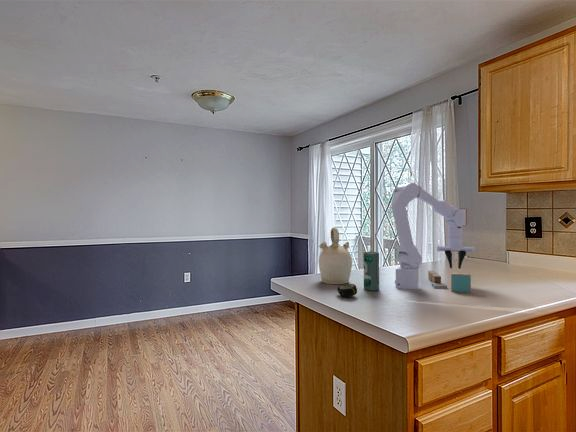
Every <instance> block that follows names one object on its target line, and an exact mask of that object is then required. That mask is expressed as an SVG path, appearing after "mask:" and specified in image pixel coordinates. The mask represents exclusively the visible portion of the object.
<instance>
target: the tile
mask: <svg viewBox="0 0 576 432" xmlns="http://www.w3.org/2000/svg"><path fill="white" fill-rule="evenodd" d="M449 277H450V278H449V280H450V281H449V286H450V287H449V288H450V289H449V290H450V292H457V293H471V292H472V290H471V289H472V284H471V283H472V279H471V278H472V276H471V273H467V272H466V273H465V272H464V273H462V272H449Z"/></svg>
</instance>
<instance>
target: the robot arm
mask: <svg viewBox="0 0 576 432" xmlns="http://www.w3.org/2000/svg"><path fill="white" fill-rule="evenodd" d="M392 194H393V196H392V200H391V210H392V215H393V220H394V224H395V228H396V233H397V238H398V244H399V247H398V248H397V256H396V257H397V262H398V263H399V266H396V267H395V280H394V285H395V289H406V290H408V289H409V290H420V285H419V284H420V283H419V268H420V265H421V264H422V262H423V257H422V255H421V254H420V252H419V249H418V248H417V246H416V245H415V243H414V241H413V236H412V231H411V226H410V222H409V217H408V212H407V208H406V207H407V206H408V205H409V204H410V202H411V201H413V200H415V199H419V200H421V201H423V202H424V203H426V204H427V205H429V206H431V207H432V209H433V211H434V212H436V213H437V214H438V215H440V216H442V217H443V218H444V220H445V221H446V222H447V246H443V245H442V246H436V251H437V252H444V255H445V256H446V259H447V262H448V265H449V268H450V269H453V262H452V261H453V252H457V254H458V255H457V257H458V263H457V265H458V266H457V268H458V269H459V270H461V268H462V264H463V261H464V259H465V257H466V255H467V253H468V252H469V253H475V247H474V246H463V226H464V222H465V220H466V219H467V218H466V217H467V216H466V214H465V212H464V211H463V210H461V209H459V208H458V209H457V208H456V206H454V205H451V204H450V203H448V201H447V200H446V199H437V198H436V197H434V196H433V195H431V193H429V192H427V191H426V190H425V189H424V188H423V187H422V186H420V185H418V184H417V183H415V182H409V183H404V184H403V183H402V184H398V185H397V186H396V187H395V188H394V190H393V191H392Z"/></svg>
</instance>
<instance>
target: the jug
mask: <svg viewBox="0 0 576 432" xmlns="http://www.w3.org/2000/svg"><path fill="white" fill-rule="evenodd" d="M330 241H331V245H329V246H328V245H327V241H323V242H321V243H320V245H319V246H318V247H319V248H320V249H321V252H320V254H319V256H318V268H319V272H320V277H321V282H322V283H324V284H327V285H346V284H349V282H350V277H351V273H352V268H353V257H352V254H351V253H350V251H349V248H350V242H349V241H346V242H345V243H343V245H341V244H339V243H340V233H339V229H338V228H337V227H335V226H334V227H332V228H331V229H330Z"/></svg>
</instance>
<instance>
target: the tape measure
mask: <svg viewBox="0 0 576 432" xmlns="http://www.w3.org/2000/svg"><path fill="white" fill-rule="evenodd" d="M337 292H338V294H339V295H340V297H343V298H350V297H353V296H355V295H357V294H358V289H357V285H356V284H354V283H346V284H342V285H340V286H337Z"/></svg>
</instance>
